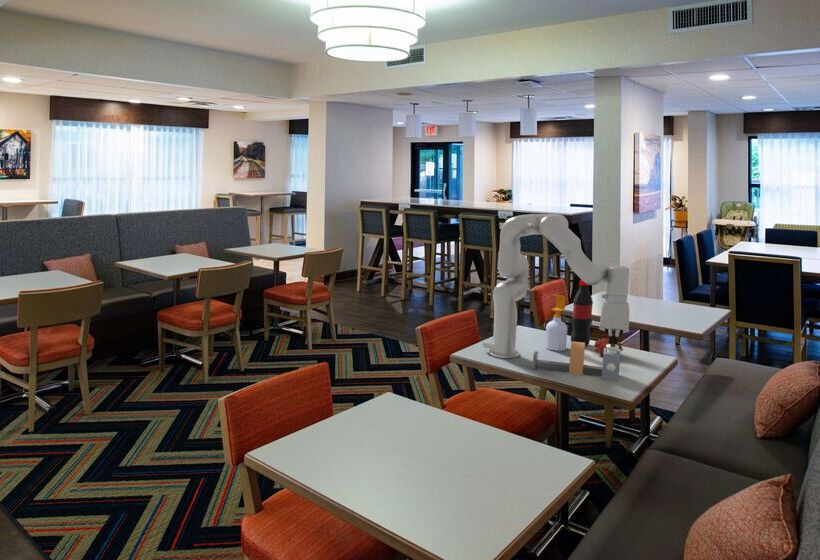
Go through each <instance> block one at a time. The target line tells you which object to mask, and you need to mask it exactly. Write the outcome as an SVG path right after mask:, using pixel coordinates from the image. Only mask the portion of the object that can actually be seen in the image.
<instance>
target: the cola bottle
mask: <svg viewBox="0 0 820 560" xmlns="http://www.w3.org/2000/svg"><path fill="white" fill-rule="evenodd" d="M589 286H590V285H589V284H587V283H585V282H584V281H583V280H582V279H580V280H579V289H578V291H577V292H576V294H575V295H574V298H573V300H572V301H573V305H572V316H571V320H572V333H570V334H571V335H570V342H571V343H572V341H573V342H583V343H585V347H587V346H589V344H590V342H591V335H590V328H591V323H592V320H593V319H592V317H593V315H592V313H593V304H594V301H593V297H592V295H591V293H590V290H589Z"/></svg>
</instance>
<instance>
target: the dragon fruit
mask: <svg viewBox="0 0 820 560" xmlns="http://www.w3.org/2000/svg"><path fill="white" fill-rule="evenodd" d="M607 344H609V337H607V338H606V337H605V338H604V337H601V338H598V339H597V340H596V341H594V344H593V347H594V348H595V349H594V352H595V353H600V356H603V353H604V348H606V345H607ZM615 345H616V344H615ZM617 345H618V346H619V349H620V353H621V352H622V351H624V349H623V347H622V345H621V344H619V343H617Z"/></svg>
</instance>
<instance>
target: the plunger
mask: <svg viewBox="0 0 820 560" xmlns="http://www.w3.org/2000/svg"><path fill="white" fill-rule="evenodd" d="M618 345H619V344H618ZM618 345H615V347H613V346H612V347H611V344H607V345H606V348H607V353H615V354H617V349H619V346H618Z"/></svg>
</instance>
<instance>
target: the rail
mask: <svg viewBox="0 0 820 560" xmlns="http://www.w3.org/2000/svg"><path fill="white" fill-rule="evenodd" d="M538 358H539V351H537V350H536V351H534V353H533V357H532V370H533V371H534V370H535V371H536V370H540V371H548V372H549V371H550V372H557V373H567V374H569V365H570V362H563V361H562V362H559V361H551V360H546V359H545V360H544V359H543V360H542V359H538ZM582 376H591V377H600V378H602V366H597V365H590V364H589V365H587V364H584V365H583V375H582Z"/></svg>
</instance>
